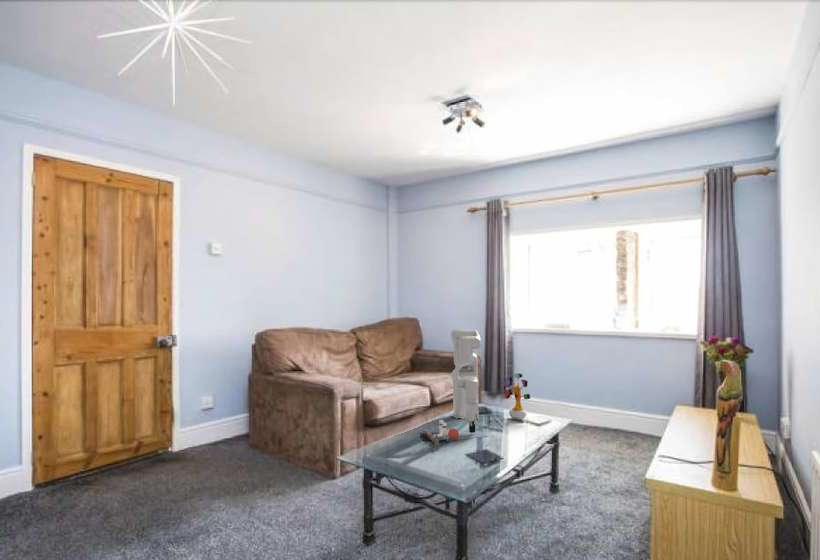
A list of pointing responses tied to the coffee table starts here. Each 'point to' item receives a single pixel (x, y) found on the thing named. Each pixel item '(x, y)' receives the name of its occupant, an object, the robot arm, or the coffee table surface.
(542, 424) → the coffee table surface
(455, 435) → the ball
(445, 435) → the pin
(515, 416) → the decorative sculpture
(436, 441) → the back wall
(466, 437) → the lane
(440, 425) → the pin
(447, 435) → the pin front
